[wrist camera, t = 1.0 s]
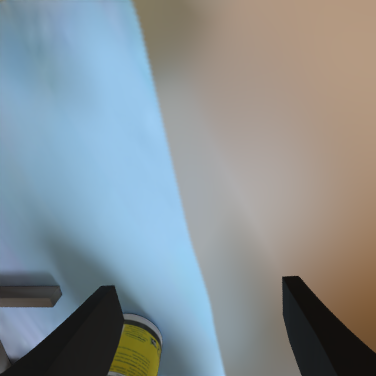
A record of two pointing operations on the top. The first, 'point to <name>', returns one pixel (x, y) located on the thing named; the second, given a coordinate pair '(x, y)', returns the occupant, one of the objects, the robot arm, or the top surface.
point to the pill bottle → (137, 348)
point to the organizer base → (25, 305)
